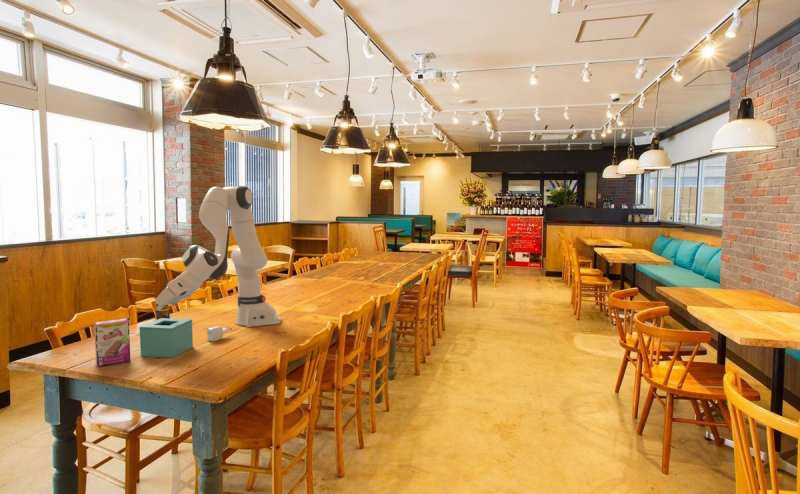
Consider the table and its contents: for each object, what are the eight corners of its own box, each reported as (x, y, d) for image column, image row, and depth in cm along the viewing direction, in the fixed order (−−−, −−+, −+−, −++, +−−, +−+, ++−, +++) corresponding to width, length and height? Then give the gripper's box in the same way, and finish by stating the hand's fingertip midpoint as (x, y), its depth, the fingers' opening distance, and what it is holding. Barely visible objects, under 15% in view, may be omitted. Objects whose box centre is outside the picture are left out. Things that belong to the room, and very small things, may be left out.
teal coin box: (192, 346, 198) (191, 319, 197) (173, 357, 185) (171, 328, 183) (162, 345, 200) (161, 318, 199) (140, 355, 186) (139, 326, 185)
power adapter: (226, 334, 217) (226, 322, 216) (233, 336, 214) (233, 323, 214) (206, 340, 207) (205, 328, 207) (213, 342, 205) (213, 329, 204)
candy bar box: (97, 367, 173) (94, 325, 171) (95, 363, 177) (93, 322, 175) (131, 361, 180) (129, 320, 178) (129, 358, 184) (127, 317, 182)
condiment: (171, 327, 227) (170, 304, 226) (152, 330, 223) (151, 306, 221) (169, 324, 233) (168, 301, 232) (151, 326, 229) (149, 303, 227)
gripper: (195, 274, 199) (175, 296, 201) (166, 282, 178) (144, 306, 181) (205, 285, 199) (185, 306, 201) (177, 294, 178) (155, 318, 181)
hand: (165, 306), depth 191 cm, fingers open, 8 cm apart
